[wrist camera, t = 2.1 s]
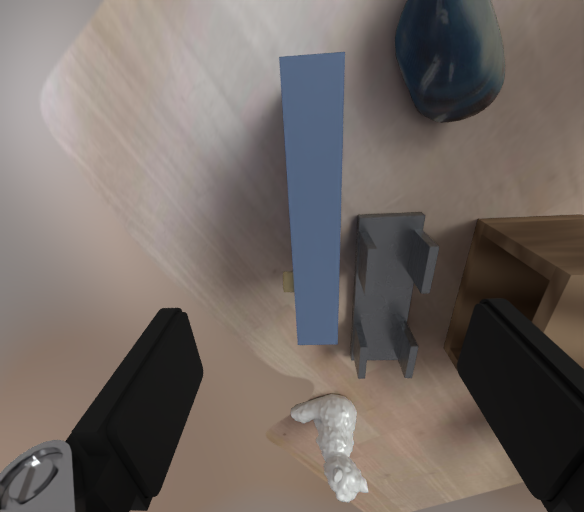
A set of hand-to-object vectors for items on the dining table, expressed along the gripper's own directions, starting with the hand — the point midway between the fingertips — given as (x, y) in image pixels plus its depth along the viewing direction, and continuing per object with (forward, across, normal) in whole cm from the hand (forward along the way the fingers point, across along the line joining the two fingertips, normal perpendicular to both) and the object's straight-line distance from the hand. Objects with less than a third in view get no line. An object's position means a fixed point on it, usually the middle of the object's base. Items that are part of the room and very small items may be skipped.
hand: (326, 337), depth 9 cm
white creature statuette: (+21, -2, +34) cm, 40 cm away
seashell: (+21, -11, -11) cm, 26 cm away
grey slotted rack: (+20, -8, +13) cm, 25 cm away
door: (+20, 0, 0) cm, 21 cm away
